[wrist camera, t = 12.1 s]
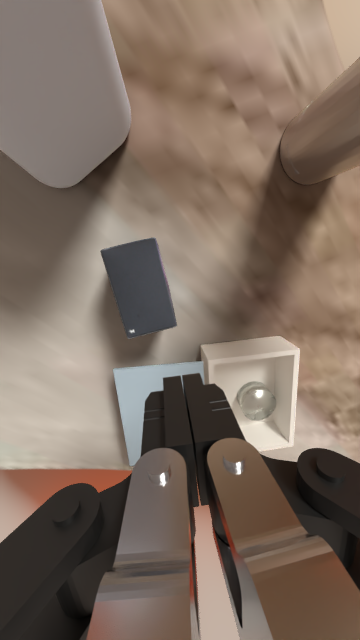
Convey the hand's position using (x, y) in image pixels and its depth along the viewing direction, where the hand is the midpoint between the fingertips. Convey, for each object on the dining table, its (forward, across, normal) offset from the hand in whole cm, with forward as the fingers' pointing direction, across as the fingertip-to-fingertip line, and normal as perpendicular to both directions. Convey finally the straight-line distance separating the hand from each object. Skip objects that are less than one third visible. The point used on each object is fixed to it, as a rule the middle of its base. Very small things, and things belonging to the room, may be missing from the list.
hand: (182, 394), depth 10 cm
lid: (+23, +2, +19) cm, 30 cm away
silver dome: (+28, -14, +22) cm, 38 cm away
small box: (+29, +3, -1) cm, 29 cm away
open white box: (+29, -12, +20) cm, 37 cm away
